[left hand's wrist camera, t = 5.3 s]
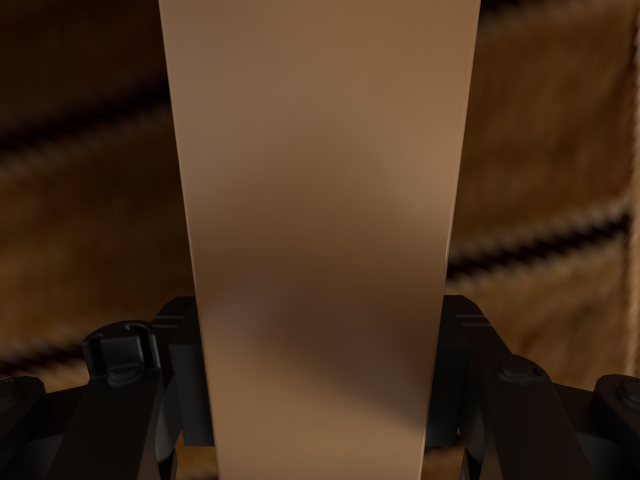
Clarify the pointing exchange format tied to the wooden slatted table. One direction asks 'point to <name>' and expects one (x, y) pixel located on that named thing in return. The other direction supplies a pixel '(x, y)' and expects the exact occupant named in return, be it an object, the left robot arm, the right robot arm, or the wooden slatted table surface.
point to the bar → (319, 221)
